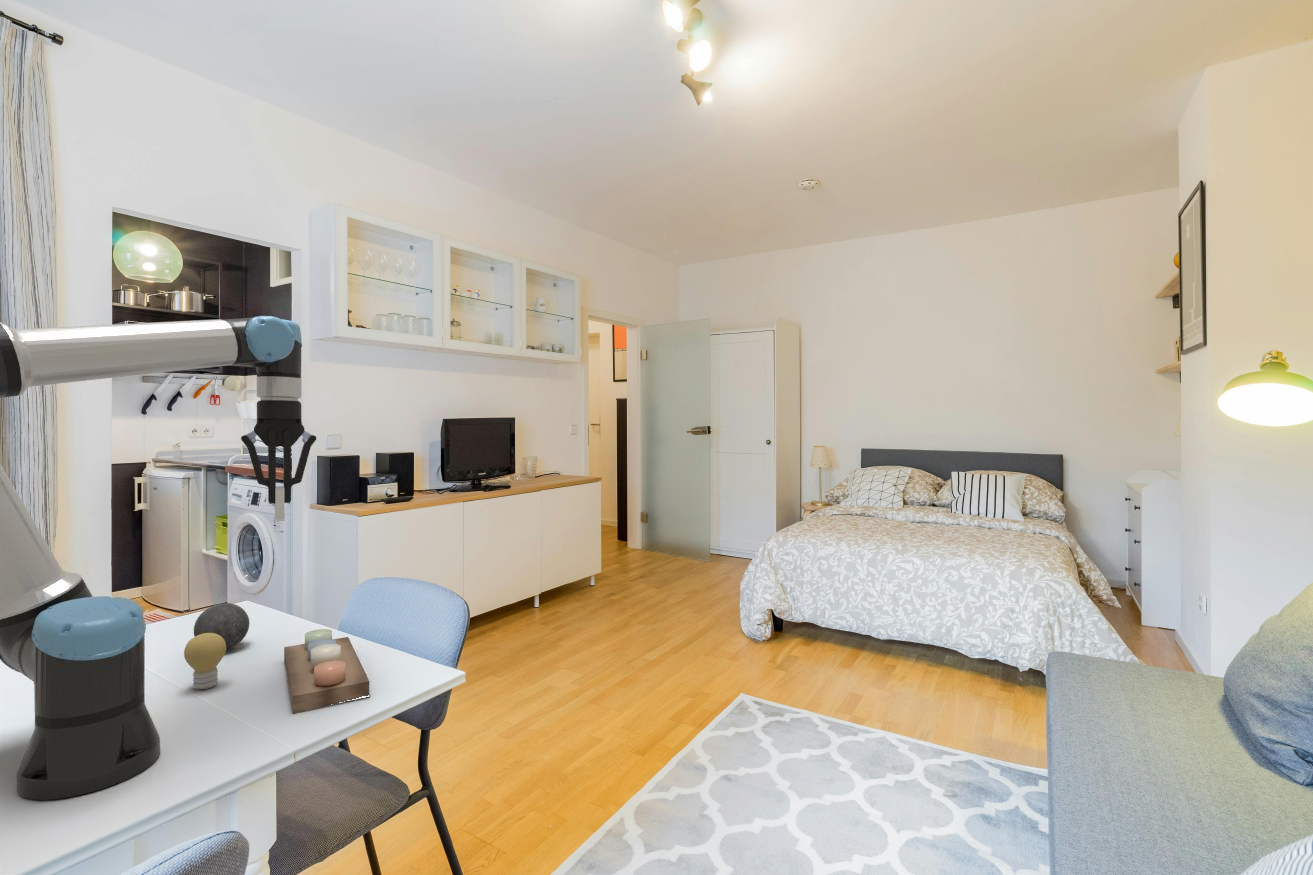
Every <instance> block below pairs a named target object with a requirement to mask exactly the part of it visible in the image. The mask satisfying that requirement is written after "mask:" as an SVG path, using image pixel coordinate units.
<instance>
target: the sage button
mask: <svg viewBox="0 0 1313 875" xmlns="http://www.w3.org/2000/svg"><path fill="white" fill-rule="evenodd" d="M320 639H333V630H332V629H329V628H328V629H327V628H323V629H314V630H310V631H307V632H306V633H304V644H305V648H306V649H308V644H309V643H310V642H312V641H315V640H320Z"/></svg>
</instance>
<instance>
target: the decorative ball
mask: <svg viewBox="0 0 1313 875" xmlns="http://www.w3.org/2000/svg"><path fill="white" fill-rule="evenodd" d="M249 629H250V618H249V615H248V613H247V611H246V610H245V609H244V608H242V606H240V605H238V604H234V603H231V602H230V603H229V602H223V603H222V602H221V603H218V604H214V605H210V606H209V607H208V608H206V609H205V610H204V611H203V612H202V613H200V614H199V616H198V617H197V619H196V621H195V623H194V625H193V638H194V637H195V636H198V635H200V634H204V633H215V634H218V635H220V636H221V637H222V638H223V639H224V640H225V643H226V651H227V650H230V649H232V648H233V647H235V646H237V645H239V643H242V641H243V640H244V638H246V635H248V634H247V633H248V632H249Z"/></svg>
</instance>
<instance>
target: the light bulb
mask: <svg viewBox="0 0 1313 875" xmlns="http://www.w3.org/2000/svg"><path fill="white" fill-rule="evenodd" d="M226 651H227V650H226V643H225V640H224V639H223V638H222V637H221V636H220V635H218V634H215V633H204V634H200V635H198V636H195V637H194V636H193V637H192V638H190V640H188V642H187V643H186V644H185V647H184V650H183V657H184V659H185V661H186V663H187V665H189V666H190V667H191V668H192V669H193V673H192V676H193V680H192V682H193V684H192V685H193V686H192V687H193V688H194V689H196V690H200V691H201V690H207V689H210V688H213V687H214V686H216V685H217V684H218V681H219V679H218V676H219V675H218V671H219V670H218V667H217V666H218V665H219V664H220V662H221V661H222V660H223V658H224V656H225V654H226Z"/></svg>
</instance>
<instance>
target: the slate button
mask: <svg viewBox="0 0 1313 875" xmlns="http://www.w3.org/2000/svg"><path fill="white" fill-rule="evenodd" d="M334 639H335V638H332V639H320V640H315V641H312V642H310V643H309V644H308V659H309V660H311V649H312V648H314V647H316V646H319V645H324V644H336V640H334Z"/></svg>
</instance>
